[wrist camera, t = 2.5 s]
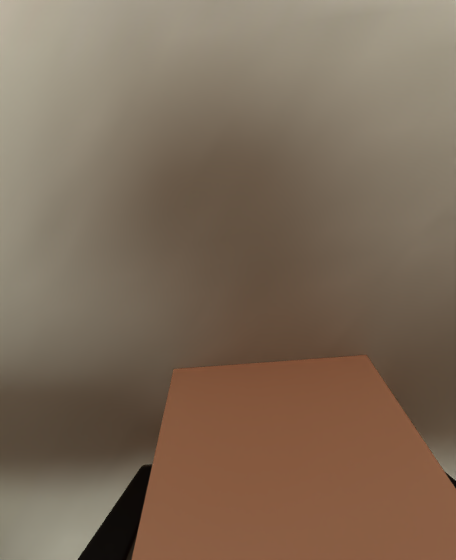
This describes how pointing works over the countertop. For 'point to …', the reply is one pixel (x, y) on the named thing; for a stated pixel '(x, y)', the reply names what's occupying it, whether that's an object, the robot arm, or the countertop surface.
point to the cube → (293, 469)
